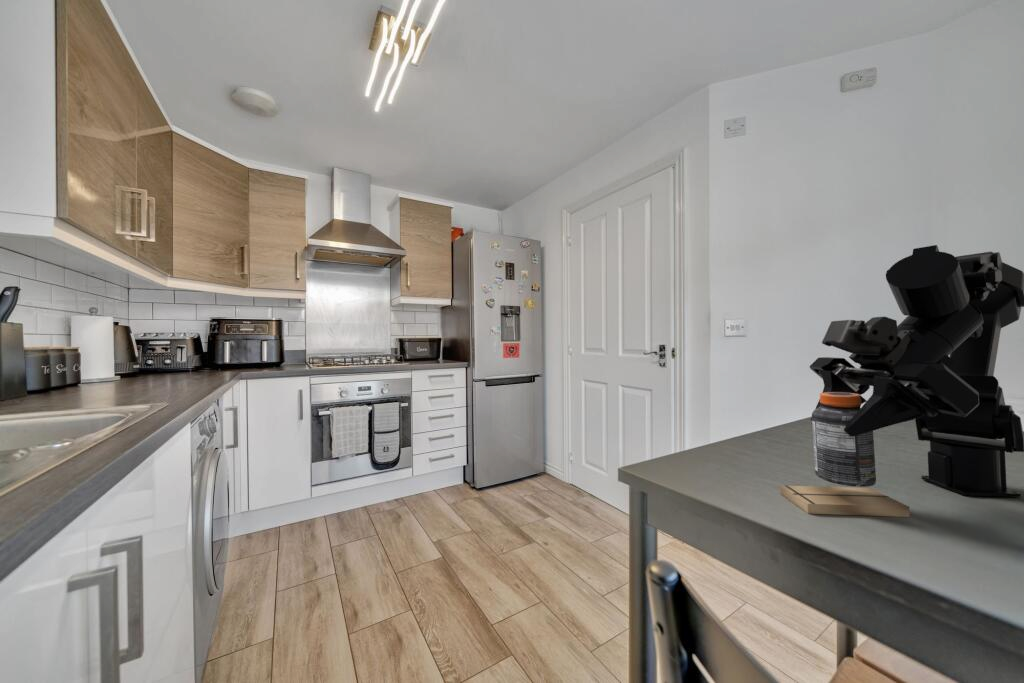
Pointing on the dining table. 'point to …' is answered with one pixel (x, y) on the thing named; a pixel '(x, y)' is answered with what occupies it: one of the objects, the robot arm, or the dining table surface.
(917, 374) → the robot arm
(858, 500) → the oak board
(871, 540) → the dining table surface
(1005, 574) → the dining table surface
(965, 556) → the dining table surface
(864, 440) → the pill bottle
